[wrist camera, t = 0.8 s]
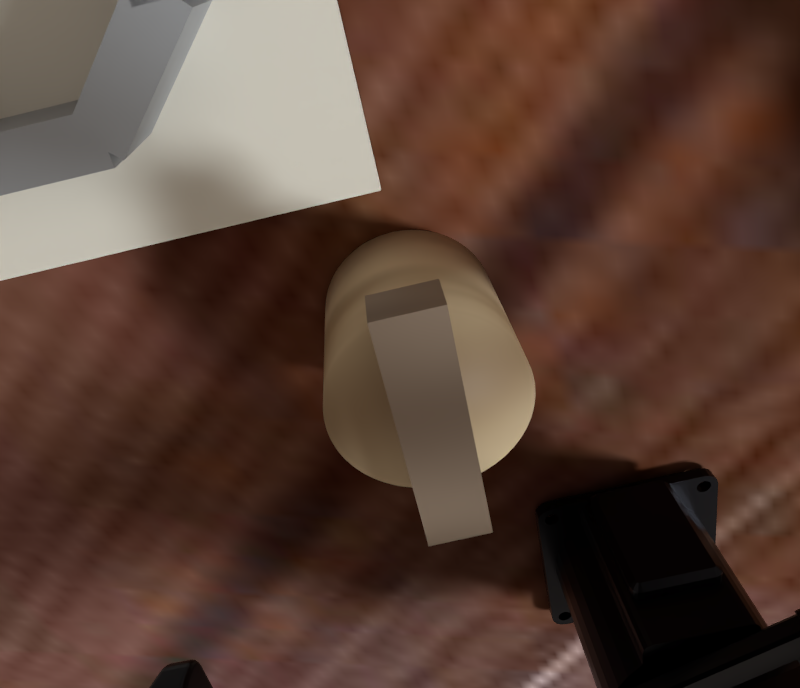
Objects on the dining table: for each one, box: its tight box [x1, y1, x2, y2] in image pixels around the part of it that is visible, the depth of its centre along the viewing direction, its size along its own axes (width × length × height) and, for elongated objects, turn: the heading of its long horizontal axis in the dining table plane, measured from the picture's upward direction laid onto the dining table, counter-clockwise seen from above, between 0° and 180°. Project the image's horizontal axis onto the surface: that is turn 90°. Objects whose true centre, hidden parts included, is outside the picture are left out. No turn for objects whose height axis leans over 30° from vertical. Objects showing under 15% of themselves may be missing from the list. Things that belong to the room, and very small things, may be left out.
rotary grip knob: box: [323, 230, 535, 546], centre depth 17 cm, size 6×5×6 cm
